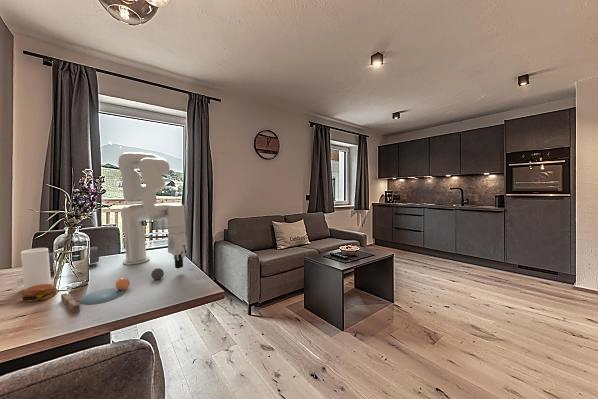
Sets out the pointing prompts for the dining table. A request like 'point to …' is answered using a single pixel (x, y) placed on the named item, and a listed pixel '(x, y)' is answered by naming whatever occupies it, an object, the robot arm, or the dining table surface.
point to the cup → (35, 267)
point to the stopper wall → (70, 303)
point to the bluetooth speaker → (93, 257)
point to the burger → (39, 292)
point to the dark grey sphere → (157, 273)
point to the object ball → (122, 283)
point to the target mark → (101, 296)
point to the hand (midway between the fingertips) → (179, 267)
